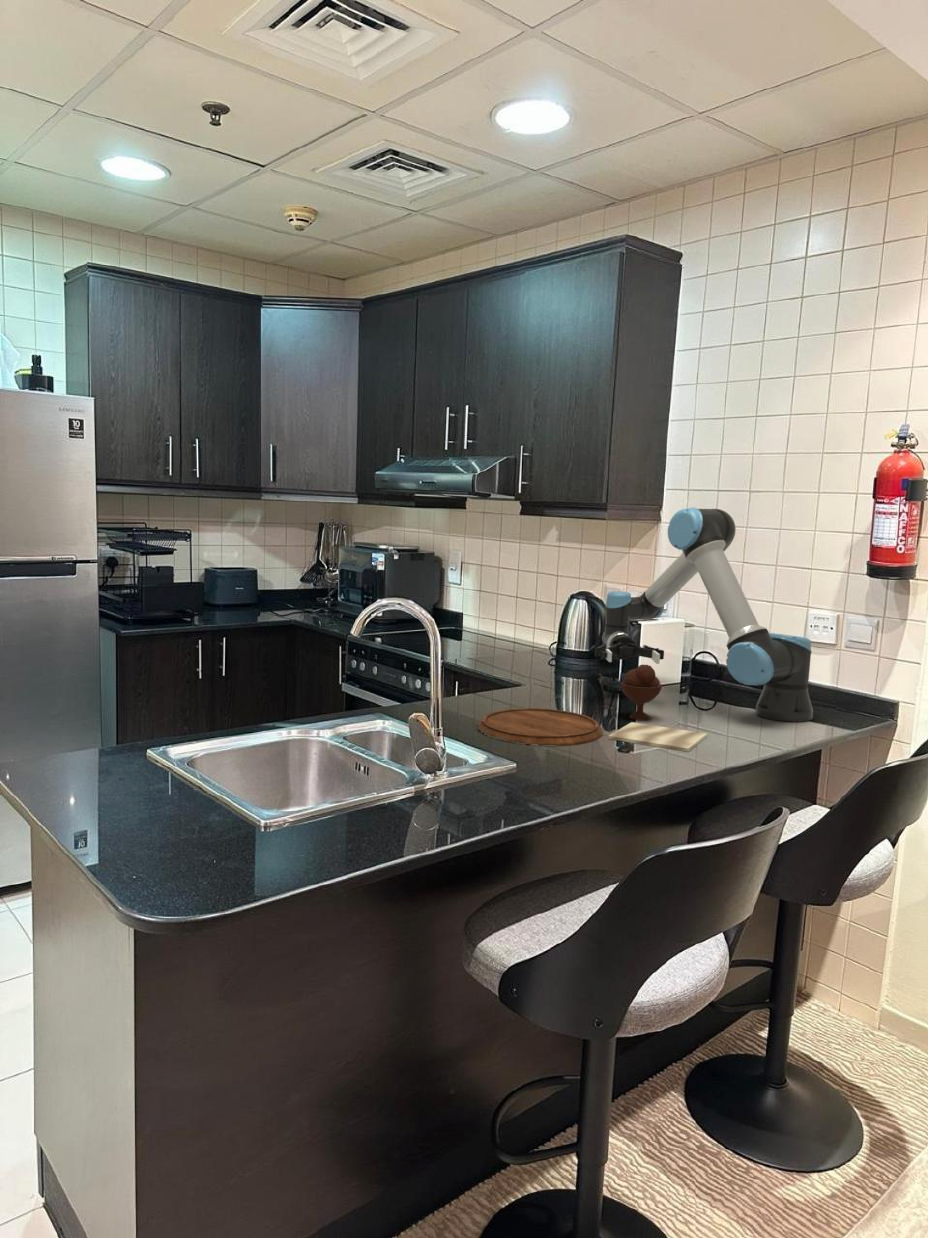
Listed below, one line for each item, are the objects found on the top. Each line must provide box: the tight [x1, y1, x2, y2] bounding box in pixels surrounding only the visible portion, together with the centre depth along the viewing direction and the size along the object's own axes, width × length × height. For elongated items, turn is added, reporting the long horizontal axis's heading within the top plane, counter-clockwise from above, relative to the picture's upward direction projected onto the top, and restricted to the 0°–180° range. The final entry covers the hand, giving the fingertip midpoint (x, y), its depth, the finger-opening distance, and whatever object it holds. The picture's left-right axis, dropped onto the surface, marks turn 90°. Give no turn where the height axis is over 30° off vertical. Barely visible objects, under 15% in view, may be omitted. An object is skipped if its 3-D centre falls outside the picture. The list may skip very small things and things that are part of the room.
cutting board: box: [477, 707, 604, 747], centre depth 223 cm, size 32×32×2 cm
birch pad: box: [607, 721, 708, 752], centre depth 217 cm, size 20×17×1 cm
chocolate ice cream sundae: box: [620, 664, 663, 721], centre depth 237 cm, size 11×11×15 cm
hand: (634, 658), depth 247 cm, fingers open, 13 cm apart
